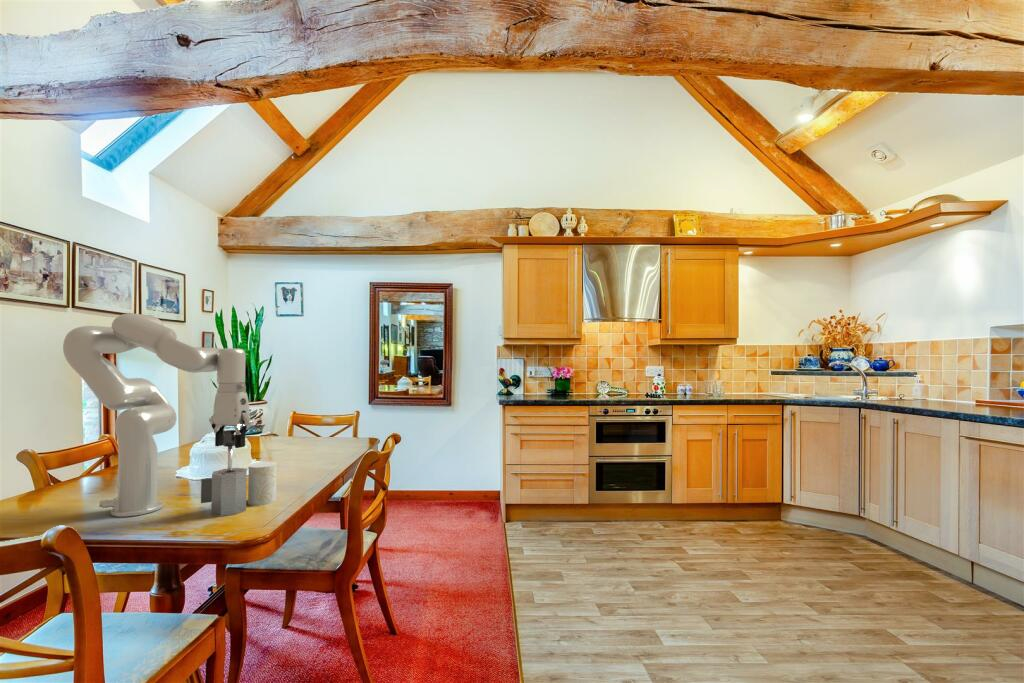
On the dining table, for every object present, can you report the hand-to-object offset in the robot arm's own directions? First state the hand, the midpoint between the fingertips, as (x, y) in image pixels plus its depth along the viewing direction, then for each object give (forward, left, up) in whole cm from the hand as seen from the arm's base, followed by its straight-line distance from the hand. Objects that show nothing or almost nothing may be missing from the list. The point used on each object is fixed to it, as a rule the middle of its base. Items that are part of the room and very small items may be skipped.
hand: (230, 446), depth 148 cm
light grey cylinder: (+9, +6, -20) cm, 23 cm away
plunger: (0, 0, -12) cm, 12 cm away
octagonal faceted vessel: (-1, 0, -20) cm, 20 cm away
